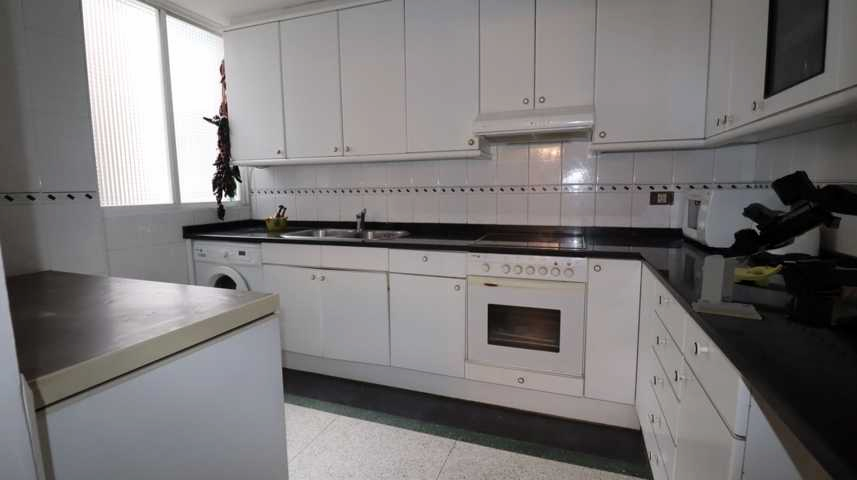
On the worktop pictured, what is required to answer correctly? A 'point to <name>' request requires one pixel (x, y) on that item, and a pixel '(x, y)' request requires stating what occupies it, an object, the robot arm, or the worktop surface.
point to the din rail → (726, 309)
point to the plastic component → (756, 274)
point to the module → (718, 278)
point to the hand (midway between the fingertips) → (732, 254)
